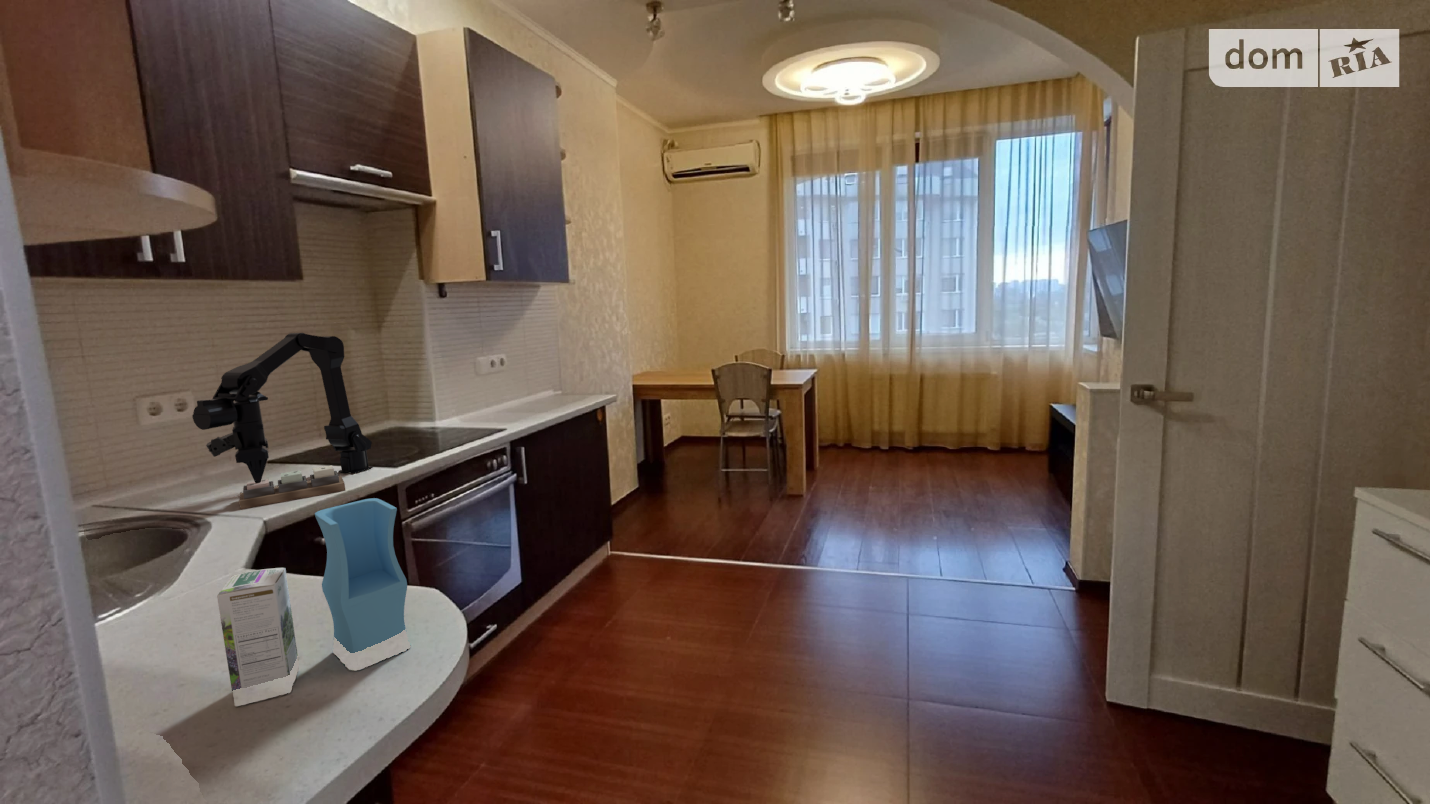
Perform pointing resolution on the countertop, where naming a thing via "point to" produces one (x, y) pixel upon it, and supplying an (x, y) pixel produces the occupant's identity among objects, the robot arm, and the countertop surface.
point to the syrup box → (257, 627)
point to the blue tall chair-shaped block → (362, 573)
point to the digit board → (290, 491)
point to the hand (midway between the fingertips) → (258, 482)
